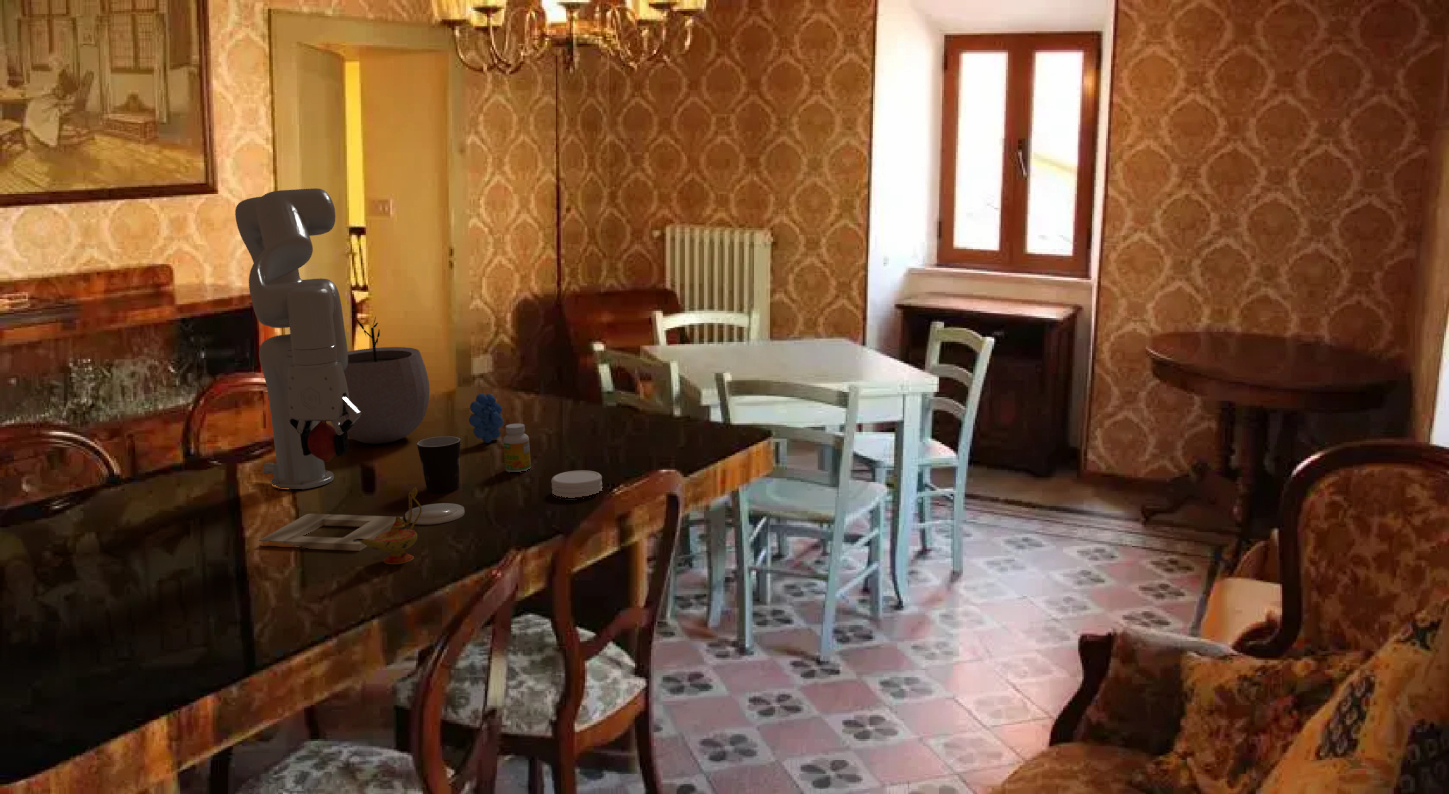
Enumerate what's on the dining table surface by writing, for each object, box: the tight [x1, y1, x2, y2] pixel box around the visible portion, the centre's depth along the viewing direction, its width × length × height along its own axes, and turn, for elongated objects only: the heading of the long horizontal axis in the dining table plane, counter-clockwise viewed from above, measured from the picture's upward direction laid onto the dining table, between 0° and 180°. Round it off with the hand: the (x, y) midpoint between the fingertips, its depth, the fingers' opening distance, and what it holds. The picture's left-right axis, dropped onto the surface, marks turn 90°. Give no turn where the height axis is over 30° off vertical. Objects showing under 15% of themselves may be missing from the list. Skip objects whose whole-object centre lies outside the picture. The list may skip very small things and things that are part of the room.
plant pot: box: [344, 316, 431, 445], centre depth 309 cm, size 24×24×30 cm
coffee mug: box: [416, 435, 461, 494], centre depth 268 cm, size 12×9×10 cm
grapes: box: [468, 393, 505, 444], centre depth 304 cm, size 12×7×12 cm, turn 154°
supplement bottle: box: [502, 423, 532, 473], centre depth 279 cm, size 5×5×10 cm
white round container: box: [550, 469, 603, 498], centre depth 261 cm, size 10×10×4 cm
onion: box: [307, 421, 337, 463], centre depth 237 cm, size 6×6×8 cm
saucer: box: [404, 502, 465, 526], centre depth 250 cm, size 11×11×1 cm
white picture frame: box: [258, 513, 404, 552], centre depth 241 cm, size 20×16×1 cm
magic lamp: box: [353, 487, 422, 565], centre depth 223 cm, size 7×18×11 cm, turn 156°
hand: (325, 453), depth 238 cm, fingers closed on onion, 5 cm apart
